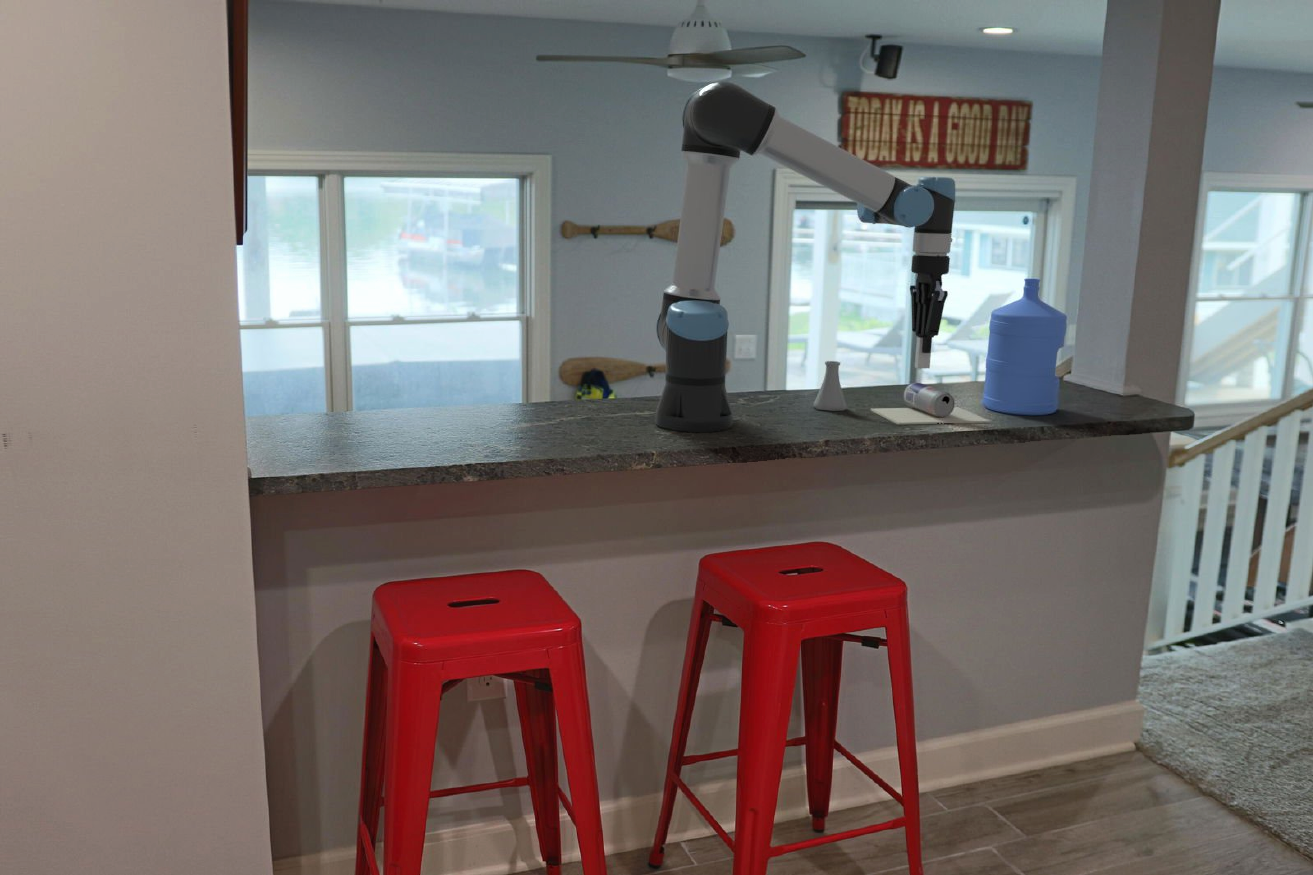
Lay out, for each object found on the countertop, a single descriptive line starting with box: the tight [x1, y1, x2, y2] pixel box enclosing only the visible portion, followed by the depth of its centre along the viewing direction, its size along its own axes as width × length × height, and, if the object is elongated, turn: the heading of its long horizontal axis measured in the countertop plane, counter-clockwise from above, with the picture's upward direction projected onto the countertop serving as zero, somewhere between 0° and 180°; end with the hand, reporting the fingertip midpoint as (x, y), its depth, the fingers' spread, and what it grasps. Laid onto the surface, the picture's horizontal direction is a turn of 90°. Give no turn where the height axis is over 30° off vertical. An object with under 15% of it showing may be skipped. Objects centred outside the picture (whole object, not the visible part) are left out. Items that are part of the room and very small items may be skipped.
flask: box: [812, 360, 848, 412], centre depth 234 cm, size 7×7×10 cm
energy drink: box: [902, 381, 956, 417], centre depth 231 cm, size 5×5×12 cm
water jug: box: [981, 278, 1068, 416], centre depth 237 cm, size 16×16×28 cm
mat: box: [870, 406, 991, 426], centre depth 229 cm, size 20×14×1 cm
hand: (922, 367), depth 232 cm, fingers closed
